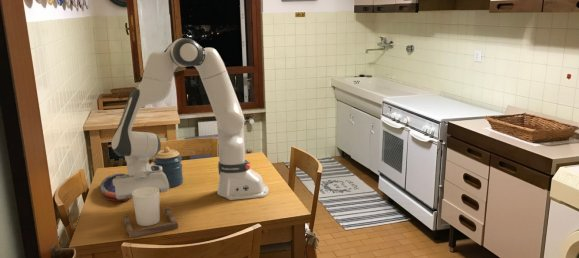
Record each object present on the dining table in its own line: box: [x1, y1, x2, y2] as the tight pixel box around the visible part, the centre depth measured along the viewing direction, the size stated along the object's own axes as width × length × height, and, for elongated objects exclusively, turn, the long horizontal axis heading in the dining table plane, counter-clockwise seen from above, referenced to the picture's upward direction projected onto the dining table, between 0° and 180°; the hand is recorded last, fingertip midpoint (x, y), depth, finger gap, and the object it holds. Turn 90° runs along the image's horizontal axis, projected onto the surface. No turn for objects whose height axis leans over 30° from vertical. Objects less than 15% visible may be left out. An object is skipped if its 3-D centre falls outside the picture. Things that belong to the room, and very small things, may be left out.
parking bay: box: [123, 207, 179, 239], centre depth 174 cm, size 16×17×2 cm
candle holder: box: [131, 187, 161, 227], centre depth 175 cm, size 10×10×12 cm
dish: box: [99, 173, 131, 202], centre depth 206 cm, size 16×31×5 cm, turn 21°
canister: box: [152, 146, 184, 189], centre depth 214 cm, size 13×13×18 cm
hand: (145, 204), depth 180 cm, fingers closed
